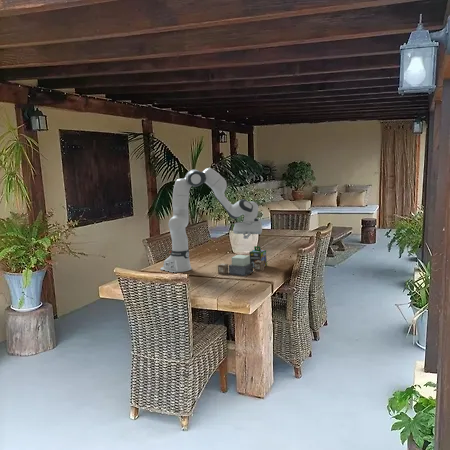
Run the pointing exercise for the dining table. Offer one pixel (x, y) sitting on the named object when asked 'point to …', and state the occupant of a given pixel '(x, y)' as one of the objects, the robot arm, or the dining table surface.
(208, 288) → the dining table surface
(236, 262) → the plain block
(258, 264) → the walnut block right
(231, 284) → the dining table surface
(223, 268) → the walnut block left
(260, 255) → the chalk box
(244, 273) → the gray tray
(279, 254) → the dining table surface
